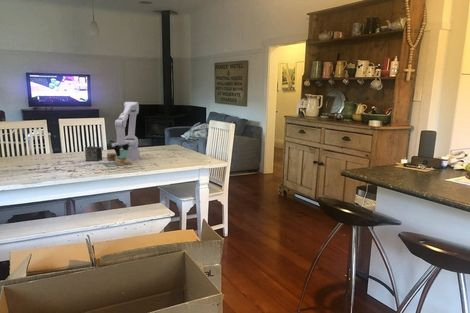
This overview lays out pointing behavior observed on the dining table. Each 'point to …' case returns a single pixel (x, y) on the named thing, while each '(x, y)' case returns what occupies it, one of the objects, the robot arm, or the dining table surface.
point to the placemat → (115, 164)
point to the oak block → (121, 161)
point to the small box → (93, 153)
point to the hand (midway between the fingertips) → (121, 155)
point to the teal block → (122, 154)
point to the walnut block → (111, 157)
